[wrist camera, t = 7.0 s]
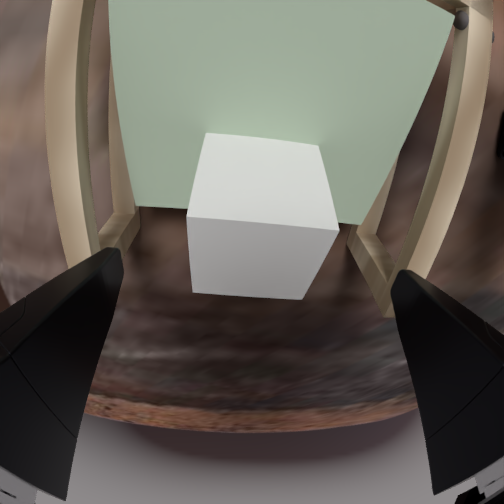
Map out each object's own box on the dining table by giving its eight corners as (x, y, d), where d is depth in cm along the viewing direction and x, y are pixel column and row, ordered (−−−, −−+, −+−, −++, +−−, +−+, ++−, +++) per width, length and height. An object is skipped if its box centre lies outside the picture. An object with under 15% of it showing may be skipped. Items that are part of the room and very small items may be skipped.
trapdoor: (443, 11, 7) (455, 16, 7) (357, 212, 18) (360, 225, 17) (119, -40, 6) (108, -39, 5) (140, 193, 16) (135, 205, 16)
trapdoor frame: (416, 11, 12) (494, -2, 5) (366, 245, 21) (407, 317, 15) (126, -28, 10) (67, -68, 4) (119, 225, 20) (74, 296, 13)
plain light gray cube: (318, 145, 13) (339, 230, 10) (294, 219, 17) (301, 299, 14) (205, 132, 12) (186, 216, 9) (204, 210, 16) (192, 292, 13)
